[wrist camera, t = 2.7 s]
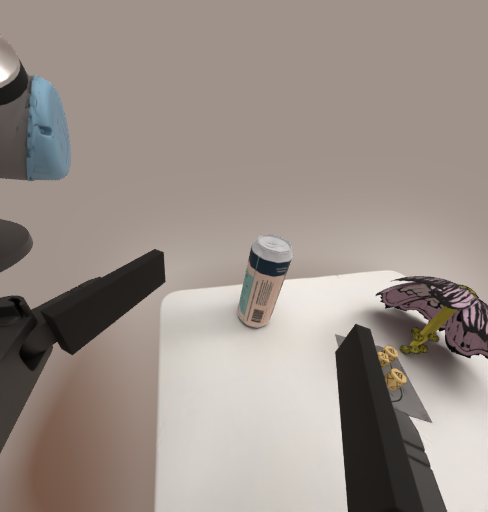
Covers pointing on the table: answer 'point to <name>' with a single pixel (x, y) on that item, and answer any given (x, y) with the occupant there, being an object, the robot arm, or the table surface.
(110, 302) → the robot arm
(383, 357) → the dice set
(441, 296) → the decorative flower
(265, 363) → the table surface
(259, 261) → the beer can
